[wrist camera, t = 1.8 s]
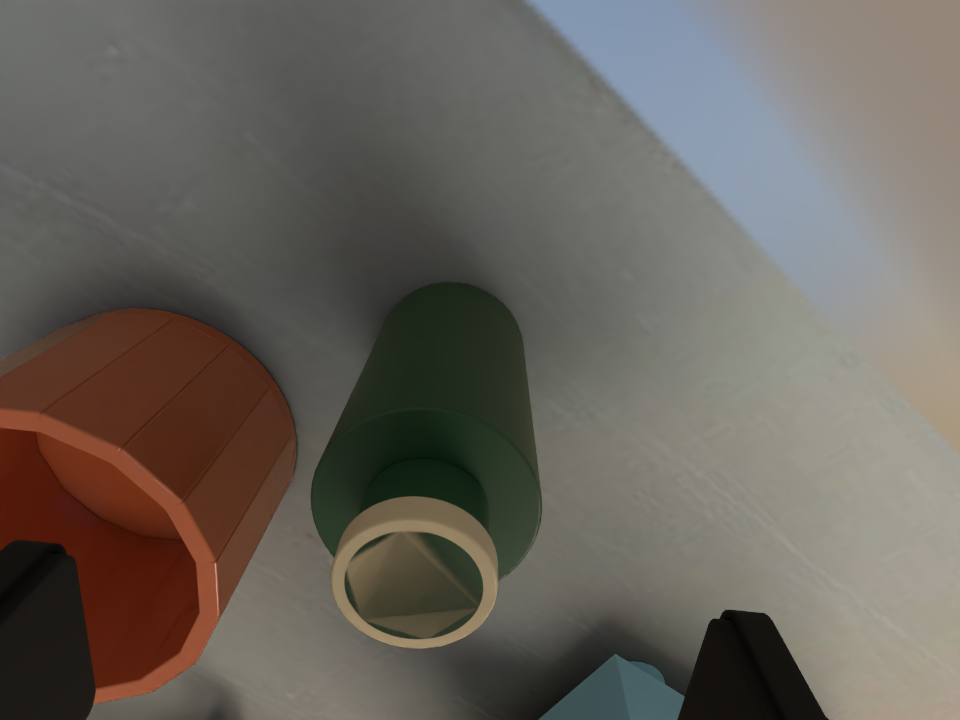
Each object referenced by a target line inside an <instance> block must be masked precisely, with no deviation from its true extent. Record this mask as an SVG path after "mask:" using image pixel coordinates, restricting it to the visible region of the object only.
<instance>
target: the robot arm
mask: <svg viewBox="0 0 960 720" xmlns="http://www.w3.org/2000/svg"><path fill="white" fill-rule="evenodd" d="M95 693H96V687H95V680H94V674H93V667H92V661H91V655H90V648H89V642H88V635H87V629H86V622H85V616H84V609H83V603H82V596H81V590H80V584H79V577H78V571H77V564H76V561H75V558H74V557H73V556H70V555H67V553H66V550H65V548H64V547H63V546H62V545H61V544H57V543H48V542H38V541H28V540H16V541H12V542H11V543H9V544H8V545H7V546H5V547H4V548H3V549H2V550H1V551H0V720H86V718H87V717H88V715H89V713H90V711H91V708H92V706H93V703H94V699H95ZM677 720H829V719H827V718H826V717H825V715H824V713H823V712H822V710H821V708H820V706H819V704H818V702H817V701H816V699H815V697H814V695H813V693H812V692H811V690H810V688H809V686H808V684H807V683H806V681H805V679H804V677H803V675H802V674H801V672H800V670H799V668H798V666H797V664H796V663H795V661H794V659H793V657H792V655H791V654H790V652H789V650H788V648H787V646H786V645H785V643H784V641H783V639H782V637H781V636H780V634H779V632H778V630H777V628H776V627H775V625H774V623H773V621H772V620H771V619H770V617H769V616H768V615H766V614H765V613H756V612H746V611H736V610H725V611H724V612H723V613H722V615H721V617H720V619H712V620H711V621H710V623H709V625H708V628H707V631H706V634H705V637H704V640H703V643H702V646H701V649H700V652H699V655H698V658H697V661H696V664H695V667H694V670H693V674H692V677H691V680H690V683H689V686H688V689H687V692H686V695H685V698H684V701H683V704H682V707H681V710H680V713H679V716H678V719H677Z"/></svg>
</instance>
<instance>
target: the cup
mask: <svg viewBox="0 0 960 720" xmlns="http://www.w3.org/2000/svg"><path fill="white" fill-rule="evenodd" d="M296 453H297V443H296V432H295V428H294V423H293V419H292V415H291V413H290V410H289V407H288V405H287V402H286V400H285V398H284V396H283V394H282V393H281V391H280V389H279V387H278V386H277V384H276V383H275V381H274V380H273V378H272V377H271V375H270V374H269V373H268V371H267V370H266V369H265V368H264V367H263V366H262V365H261V364H260V362H259V361H258V360H257V359H256V358H255V357H254V356H253V355H251V354H250V353H249V352H248V351H247V350H246V349H245V348H244V347H242V346H241V345H240V344H238V343H237V342H236V341H234V340H233V339H231V338H230V337H228V336H227V335H225V334H224V333H222V332H220V331H218V330H216V329H215V328H213V327H211V326H209V325H207V324H205V323H202V322H200V321H197V320H195V319H193V318H190V317H186V316H183V315H180V314H176V313H173V312H167V311H162V310H156V309H143V308H129V309H116V310H111V311H106V312H102V313H98V314H95V315H92V316H90V317H87V318H84V319H82V320H80V321H79V322H77V323H74V324H70V325H67V326H63V327H62V328H60V329H58V330H56V331H54V332H52V333H51V334H49V335H47V336H45V337H43V338H41V339H39V340H38V341H36V342H34V343H32V344H30V345H28V346H27V347H25V348H23V349H21V350H19V351H17V352H16V353H14V354H12V355H10V356H8V357H6V358H5V359H3V360H1V361H0V551H1V550H2V549H3V548H4V547H5V546H7V545H8V544H9V543H11V542H12V541H16V540H28V541H38V542H48V543H57V544H61V545H62V546H63V547H64V548H65V550H66V553H67V555H70V556H73V557H74V558H75V561H76V564H77V571H78V577H79V584H80V590H81V596H82V603H83V609H84V616H85V622H86V629H87V635H88V642H89V648H90V655H91V661H92V667H93V674H94V680H95V687H96V693H95V699H94V703H93V704H97V703H102V702H107V701H112V700H117V699H122V698H127V697H132V696H137V695H142V694H147V693H150V692H153V691H155V690H156V689H158V688H159V687H161V686H162V685H164V684H165V683H167V682H168V681H170V680H171V679H173V678H174V677H176V676H177V675H179V674H180V673H182V672H183V671H185V670H186V669H188V668H189V667H191V666H192V665H194V664H195V663H196V662H197V661H198V660H199V658H200V656H201V654H202V652H203V650H204V648H205V646H206V644H207V642H208V640H209V639H210V637H211V635H212V633H213V631H214V629H215V627H216V625H217V623H218V621H219V619H220V617H221V615H222V614H223V612H224V610H225V608H226V606H227V604H228V602H229V600H230V598H231V596H232V594H233V592H234V590H235V588H236V587H237V585H238V583H239V581H240V579H241V577H242V575H243V573H244V571H245V569H246V567H247V565H248V563H249V561H250V560H251V558H252V556H253V554H254V552H255V550H256V548H257V546H258V544H259V542H260V540H261V538H262V536H263V535H264V533H265V531H266V529H267V527H268V525H269V523H270V521H271V519H272V517H273V515H274V513H275V511H276V509H277V508H278V506H279V504H280V502H281V500H282V498H283V496H284V494H285V492H286V490H287V488H288V486H289V484H290V483H291V479H292V476H293V472H294V468H295V464H296Z"/></svg>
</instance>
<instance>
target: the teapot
mask: <svg viewBox="0 0 960 720" xmlns="http://www.w3.org/2000/svg"><path fill="white" fill-rule="evenodd" d="M684 698H685V696H683V695H681V694H680V693H678V692H677V691H675V690H673V689H672V688H670V687H668V686H667V685H665V679H664V677H663V675H662V674H661V673H660V671H659V670H657V669H656V668H655V667H653V666H651V665H649V664H646V663H643V662H637V661H626V660H625V659H623V658H621V657H620V656H618V655H616V654H614V655H613V656H612V657H611V658H610V659H608V660H607V661H606V662H605V663H604V664H603V665H601V666H600V667H599V668H598V669H597V670H596V671H594V672H593V673H592V674H591V675H590V676H589V677H587V678H586V679H585V680H584V681H583V682H582V683H580V684H579V685H578V686H577V687H576V688H575V689H573V690H572V691H571V692H570V693H569V694H568V695H566V696H565V697H564V698H563V699H562V700H561V701H559V702H558V703H557V704H556V705H555V706H554V707H552V708H551V709H550V710H549V711H548V712H547V713H545V714H544V715H543V716H542V717H541V718H540V719H538V720H677V719H678V716H679V713H680V710H681V707H682V704H683V701H684Z"/></svg>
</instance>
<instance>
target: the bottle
mask: <svg viewBox="0 0 960 720" xmlns="http://www.w3.org/2000/svg"><path fill="white" fill-rule="evenodd" d="M311 509H312V514H313V518H314V522H315V525H316V528H317V530H318V533H319V535H320V537H321V539H322V541H323V543H324V544H325V546H326V547H327V549H328V550H329V551H330V553H331V554H332V555H333V557H334V560H333V564H332V567H331V575H330V579H331V588H332V592H333V596H334V598H335V601H336V603H337V605H338V607H339V609H340V610H341V612H342V613H343V614H344V616H345V617H346V618H347V619H348V620H349V621H350V622H351V623H352V624H353V625H354V626H355V627H356V628H358V629H359V630H360V631H362V632H363V633H365V634H367V635H368V636H370V637H372V638H374V639H376V640H379V641H381V642H384V643H387V644H390V645H394V646H399V647H406V648H432V647H439V646H443V645H447V644H450V643H453V642H455V641H458V640H460V639H462V638H464V637H466V636H467V635H469V634H470V633H472V632H473V631H475V630H476V629H477V628H478V627H479V626H480V625H481V624H482V623H483V622H484V621H485V620H486V618H487V617H488V615H489V614H490V612H491V610H492V608H493V606H494V604H495V601H496V597H497V593H498V581H499V580H500V579H502V578H503V577H505V576H506V575H508V574H509V573H510V572H511V571H512V570H513V569H514V568H515V567H516V566H517V565H518V564H519V563H520V562H521V561H522V560H523V558H524V557H525V556H526V554H527V553H528V551H529V550H530V548H531V546H532V545H533V543H534V540H535V538H536V536H537V533H538V530H539V526H540V522H541V515H542V496H541V488H540V479H539V471H538V463H537V454H536V446H535V438H534V430H533V421H532V413H531V405H530V396H529V388H528V380H527V372H526V363H525V355H524V347H523V340H522V335H521V332H520V329H519V326H518V324H517V322H516V321H515V319H514V317H513V316H512V314H511V313H510V311H509V310H508V309H507V308H506V307H505V306H504V305H503V303H501V302H500V301H499V300H498V299H497V298H495V297H494V296H492V295H491V294H489V293H488V292H486V291H483V290H481V289H479V288H477V287H473V286H470V285H466V284H461V283H438V284H433V285H429V286H426V287H423V288H420V289H418V290H416V291H414V292H412V293H411V294H409V295H408V296H406V297H405V298H403V299H402V300H401V301H400V302H399V303H398V304H397V305H396V306H395V307H394V309H393V310H392V311H391V312H390V314H389V316H388V317H387V319H386V321H385V323H384V325H383V327H382V329H381V332H380V334H379V336H378V338H377V340H376V342H375V344H374V346H373V349H372V351H371V353H370V355H369V357H368V359H367V361H366V363H365V366H364V368H363V370H362V372H361V374H360V376H359V378H358V380H357V383H356V385H355V387H354V389H353V391H352V393H351V395H350V397H349V400H348V402H347V404H346V406H345V408H344V410H343V412H342V414H341V417H340V419H339V421H338V423H337V425H336V427H335V429H334V431H333V434H332V436H331V438H330V440H329V442H328V444H327V446H326V448H325V451H324V453H323V455H322V457H321V459H320V461H319V464H318V466H317V468H316V471H315V474H314V478H313V481H312V488H311Z"/></svg>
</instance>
